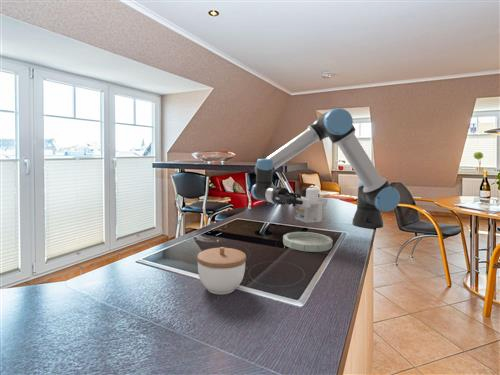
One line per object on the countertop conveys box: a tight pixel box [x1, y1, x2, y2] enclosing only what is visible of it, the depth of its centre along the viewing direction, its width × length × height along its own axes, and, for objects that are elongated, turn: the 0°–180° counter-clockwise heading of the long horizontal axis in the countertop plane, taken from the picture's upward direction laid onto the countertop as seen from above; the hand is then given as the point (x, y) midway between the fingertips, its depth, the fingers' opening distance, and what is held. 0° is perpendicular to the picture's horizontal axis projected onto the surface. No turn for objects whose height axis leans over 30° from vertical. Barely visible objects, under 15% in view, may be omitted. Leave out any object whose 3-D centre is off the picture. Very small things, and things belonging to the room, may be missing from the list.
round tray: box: [282, 231, 334, 253], centre depth 123 cm, size 19×19×2 cm
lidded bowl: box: [196, 246, 247, 296], centre depth 80 cm, size 13×13×11 cm
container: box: [294, 186, 324, 223], centre depth 121 cm, size 8×8×13 cm
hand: (318, 203), depth 117 cm, fingers closed on container, 9 cm apart
